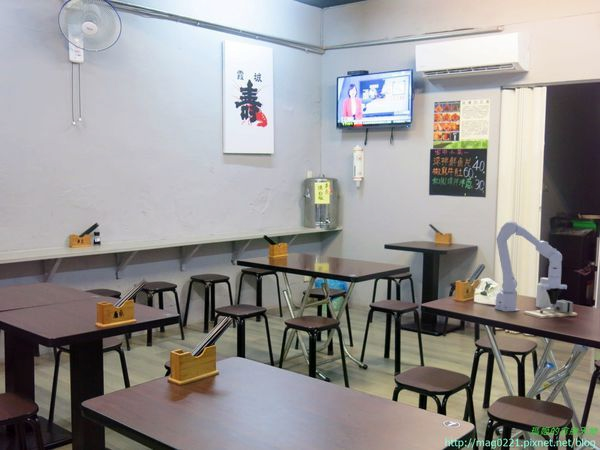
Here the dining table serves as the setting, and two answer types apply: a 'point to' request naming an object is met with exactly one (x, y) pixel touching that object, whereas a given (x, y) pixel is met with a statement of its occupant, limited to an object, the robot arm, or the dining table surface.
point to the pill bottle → (542, 295)
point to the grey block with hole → (561, 306)
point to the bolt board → (552, 311)
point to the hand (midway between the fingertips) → (553, 304)
